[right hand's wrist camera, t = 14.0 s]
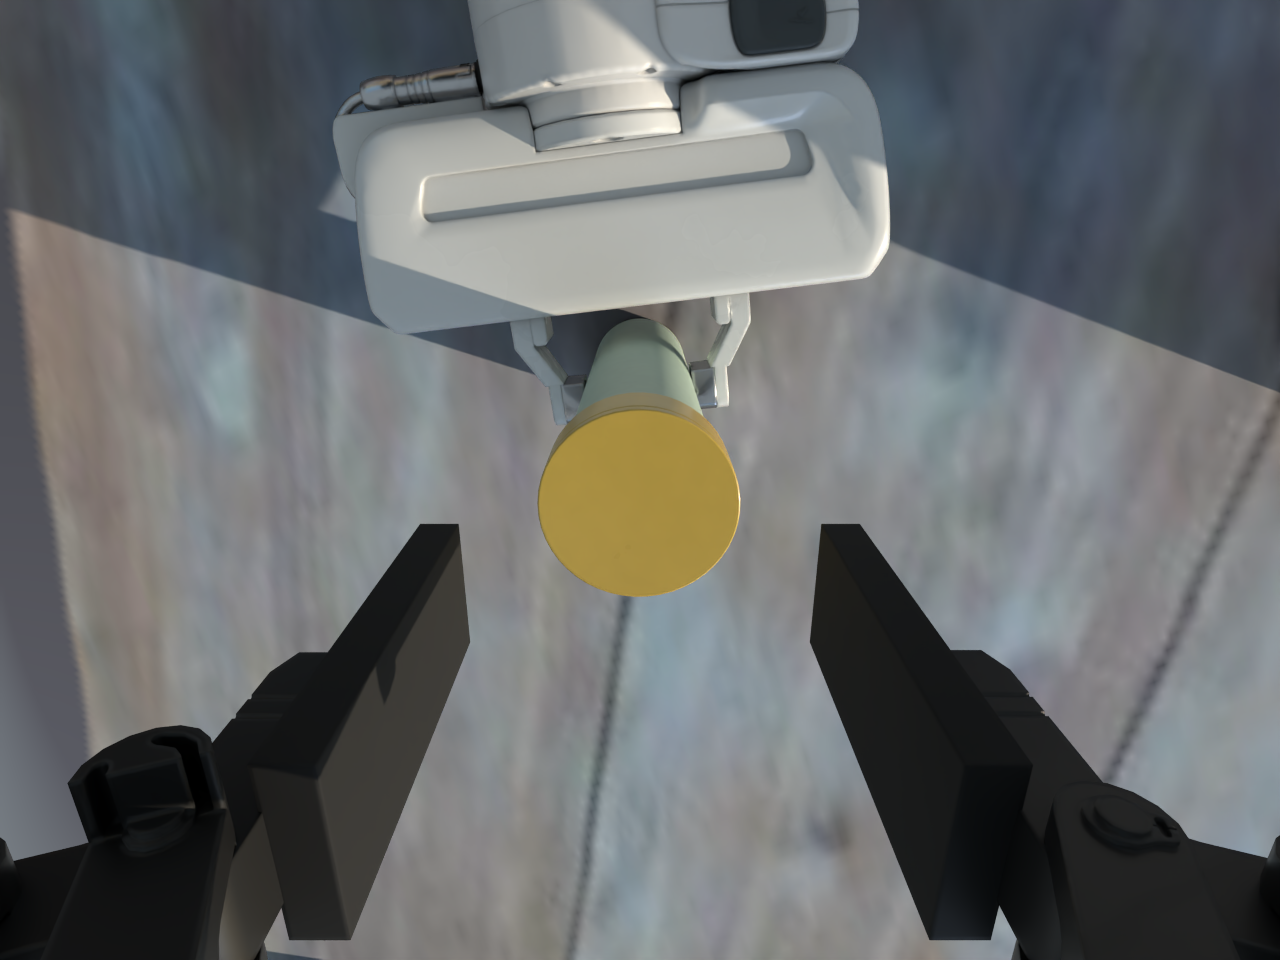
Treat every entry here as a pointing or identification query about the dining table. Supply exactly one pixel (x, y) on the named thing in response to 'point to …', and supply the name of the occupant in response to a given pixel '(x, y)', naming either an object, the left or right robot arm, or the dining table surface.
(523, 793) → the dining table surface
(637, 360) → the green cylinder
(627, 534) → the lid
